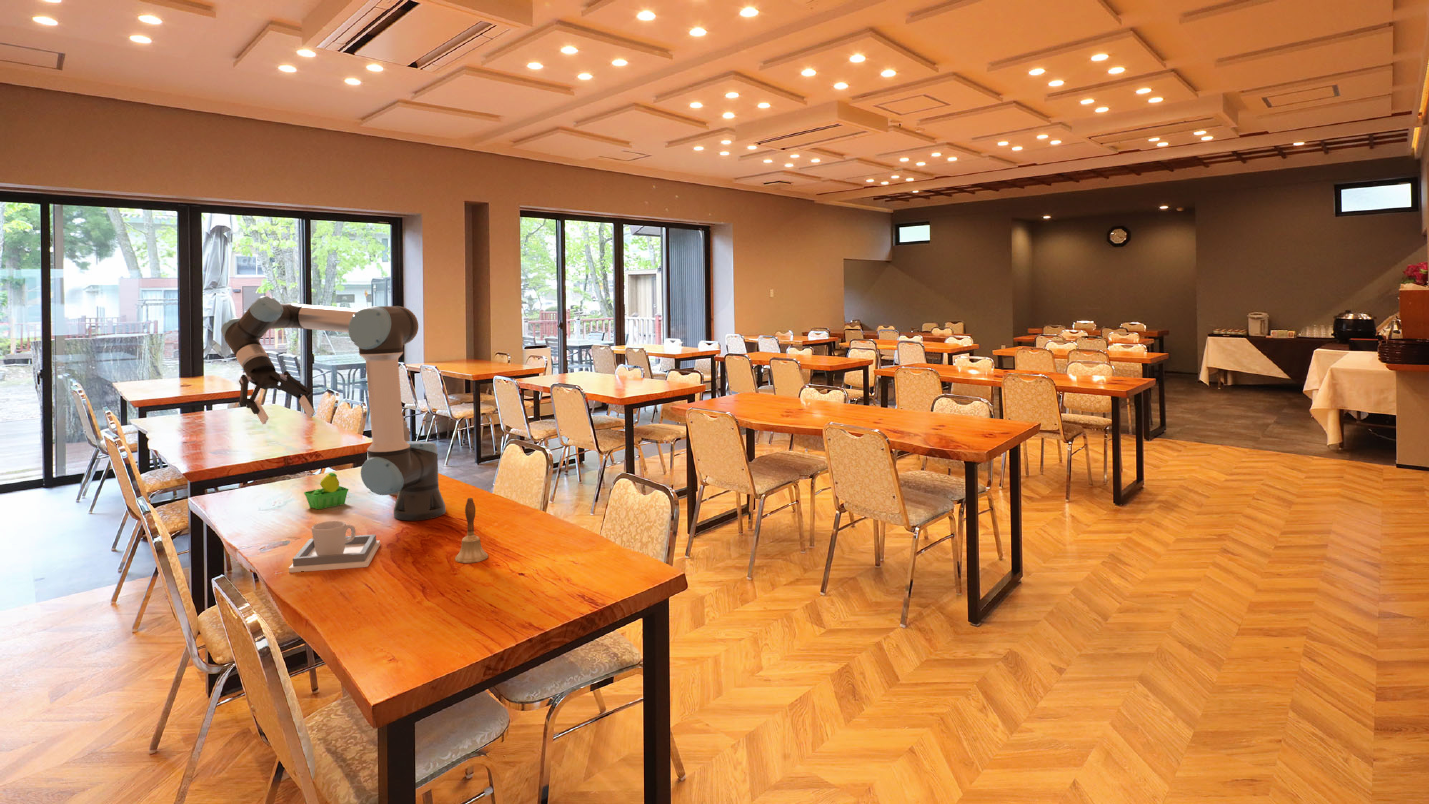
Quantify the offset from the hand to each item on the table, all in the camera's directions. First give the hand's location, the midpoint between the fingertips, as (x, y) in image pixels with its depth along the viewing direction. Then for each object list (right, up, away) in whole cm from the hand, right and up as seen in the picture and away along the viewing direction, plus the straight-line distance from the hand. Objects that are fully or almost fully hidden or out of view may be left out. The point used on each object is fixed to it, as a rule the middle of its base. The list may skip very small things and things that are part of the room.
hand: (289, 418), depth 222 cm
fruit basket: (-3, -29, +28) cm, 41 cm away
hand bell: (+59, -36, -21) cm, 72 cm away
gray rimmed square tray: (+24, -36, -21) cm, 48 cm away
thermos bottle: (+13, -27, +46) cm, 55 cm away
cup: (+24, -35, -21) cm, 48 cm away
